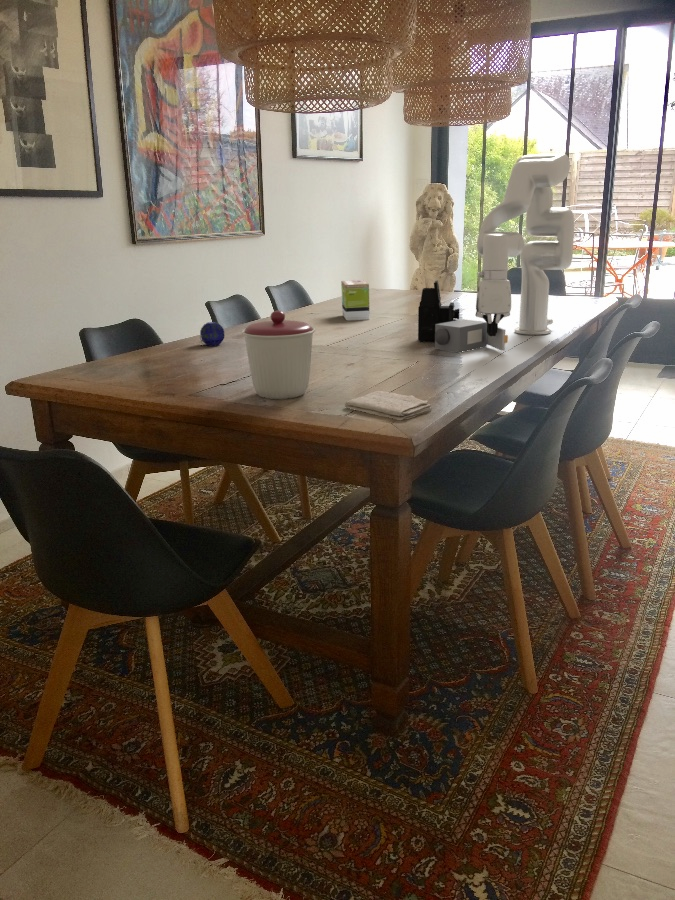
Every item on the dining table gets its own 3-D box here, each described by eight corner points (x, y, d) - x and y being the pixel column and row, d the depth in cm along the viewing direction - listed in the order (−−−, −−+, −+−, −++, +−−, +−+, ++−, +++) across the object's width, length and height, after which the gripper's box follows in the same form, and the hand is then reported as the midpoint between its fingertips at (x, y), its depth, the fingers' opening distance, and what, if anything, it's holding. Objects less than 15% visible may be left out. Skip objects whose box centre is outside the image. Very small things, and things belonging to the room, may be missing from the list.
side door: (485, 344, 243) (486, 324, 241) (490, 343, 244) (491, 323, 242) (501, 350, 232) (502, 329, 230) (506, 350, 233) (508, 329, 231)
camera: (457, 343, 251) (459, 282, 244) (417, 343, 253) (417, 282, 247) (458, 338, 260) (460, 279, 254) (419, 338, 263) (420, 279, 256)
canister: (331, 395, 187) (329, 310, 180) (268, 408, 177) (263, 318, 171) (292, 383, 201) (289, 303, 194) (232, 393, 191) (227, 310, 185)
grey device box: (462, 343, 252) (463, 319, 249) (487, 346, 244) (488, 322, 242) (432, 349, 242) (432, 324, 239) (457, 353, 235) (457, 328, 232)
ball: (203, 347, 254) (201, 325, 252) (198, 344, 261) (197, 322, 258) (226, 345, 257) (225, 323, 254) (221, 342, 264) (219, 320, 261)
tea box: (341, 315, 319) (340, 280, 315) (364, 314, 320) (364, 279, 316) (345, 320, 305) (345, 283, 301) (370, 319, 306) (369, 283, 302)
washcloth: (404, 423, 164) (404, 410, 163) (342, 410, 175) (342, 397, 174) (434, 412, 172) (435, 399, 172) (373, 400, 184) (373, 387, 183)
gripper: (473, 277, 224) (471, 338, 230) (522, 276, 225) (519, 336, 231) (467, 275, 231) (465, 334, 237) (514, 274, 232) (511, 333, 238)
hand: (491, 335), depth 234 cm, fingers closed
